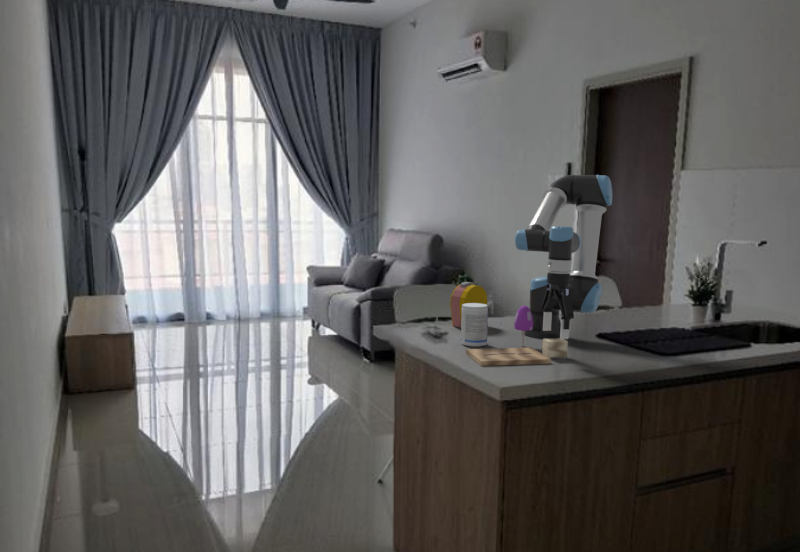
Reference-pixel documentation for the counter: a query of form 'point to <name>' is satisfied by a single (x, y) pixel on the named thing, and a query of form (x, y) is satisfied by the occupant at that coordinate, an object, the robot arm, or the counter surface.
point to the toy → (523, 321)
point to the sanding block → (555, 348)
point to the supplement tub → (474, 324)
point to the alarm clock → (465, 299)
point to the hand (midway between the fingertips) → (555, 334)
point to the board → (507, 356)
